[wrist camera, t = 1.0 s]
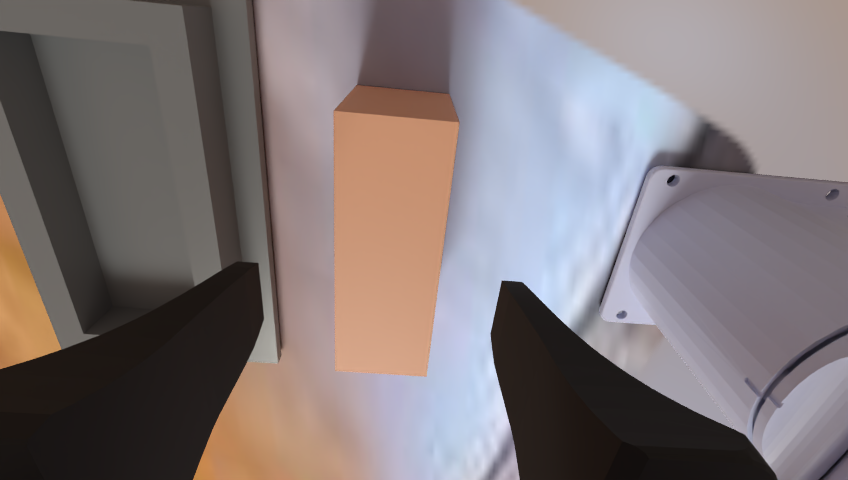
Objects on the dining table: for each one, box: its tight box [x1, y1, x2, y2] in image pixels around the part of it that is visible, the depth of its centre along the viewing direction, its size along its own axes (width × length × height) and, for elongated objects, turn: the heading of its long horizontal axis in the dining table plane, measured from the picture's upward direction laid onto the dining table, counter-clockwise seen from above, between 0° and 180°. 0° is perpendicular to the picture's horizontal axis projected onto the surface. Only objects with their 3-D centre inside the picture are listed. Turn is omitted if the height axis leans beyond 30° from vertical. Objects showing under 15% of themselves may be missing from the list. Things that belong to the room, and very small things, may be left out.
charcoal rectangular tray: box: [0, 0, 281, 363], centre depth 17 cm, size 10×18×3 cm, turn 175°
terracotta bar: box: [334, 85, 459, 376], centre depth 17 cm, size 4×10×5 cm, turn 175°
